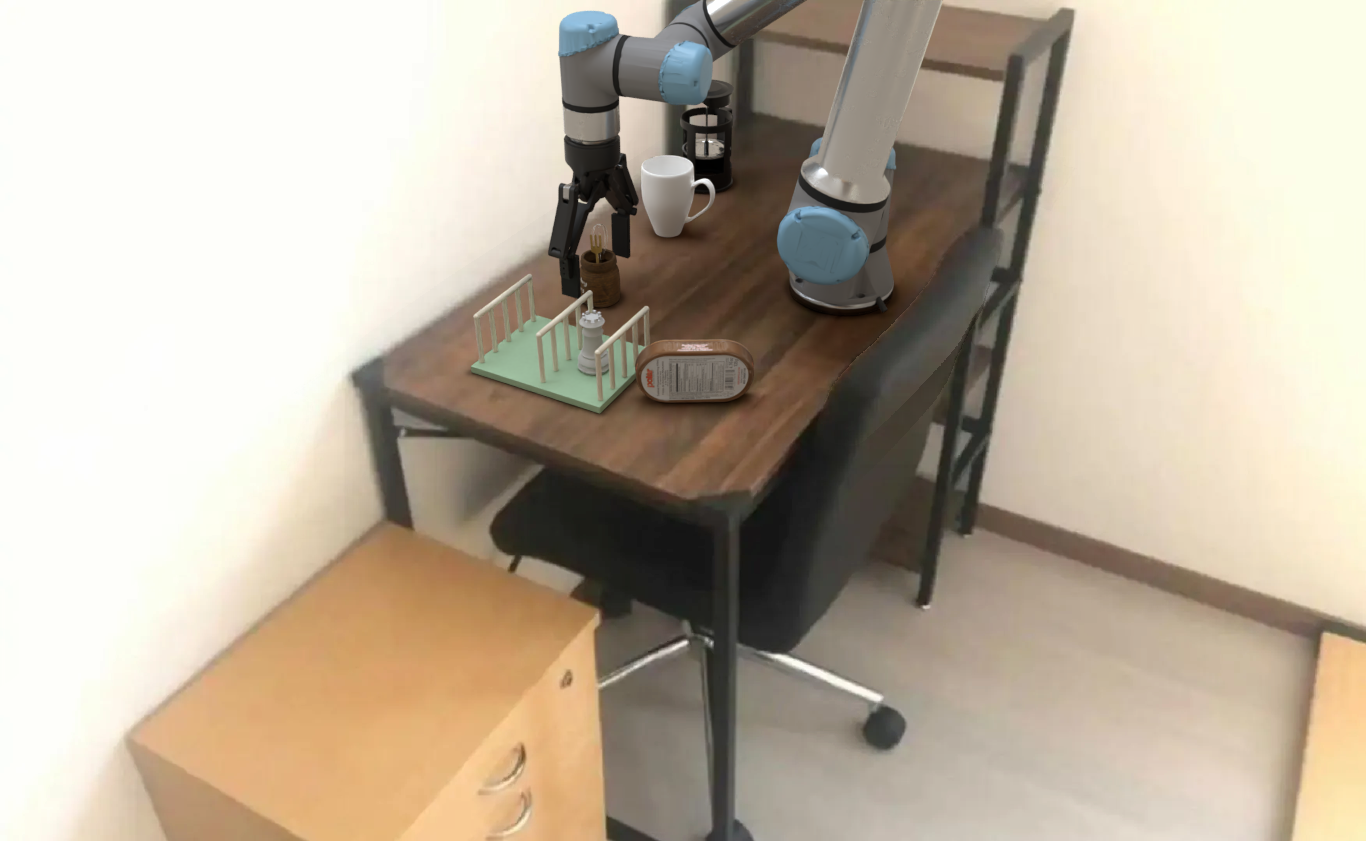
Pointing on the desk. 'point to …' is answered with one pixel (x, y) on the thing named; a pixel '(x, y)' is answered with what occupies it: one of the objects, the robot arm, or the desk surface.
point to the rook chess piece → (592, 343)
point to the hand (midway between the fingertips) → (597, 275)
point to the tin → (694, 370)
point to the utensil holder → (600, 273)
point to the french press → (711, 151)
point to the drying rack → (557, 353)
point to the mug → (670, 193)
